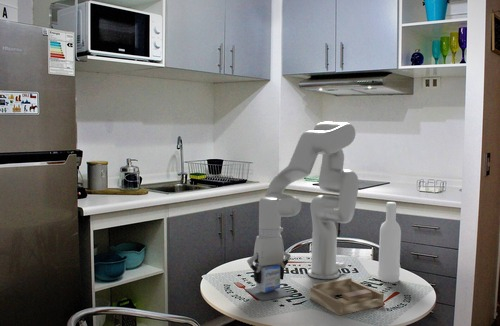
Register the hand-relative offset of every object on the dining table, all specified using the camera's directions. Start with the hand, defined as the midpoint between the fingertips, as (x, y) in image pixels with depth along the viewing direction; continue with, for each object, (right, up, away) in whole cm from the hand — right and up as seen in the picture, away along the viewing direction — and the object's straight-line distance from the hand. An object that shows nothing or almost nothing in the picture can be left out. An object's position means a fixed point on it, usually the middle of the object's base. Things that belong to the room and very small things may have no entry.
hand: (269, 280), depth 177 cm
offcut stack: (+28, -6, -12) cm, 31 cm away
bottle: (+47, -4, +17) cm, 50 cm away
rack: (+26, -6, -7) cm, 27 cm away
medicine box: (0, -3, +1) cm, 3 cm away
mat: (0, -5, 0) cm, 5 cm away
